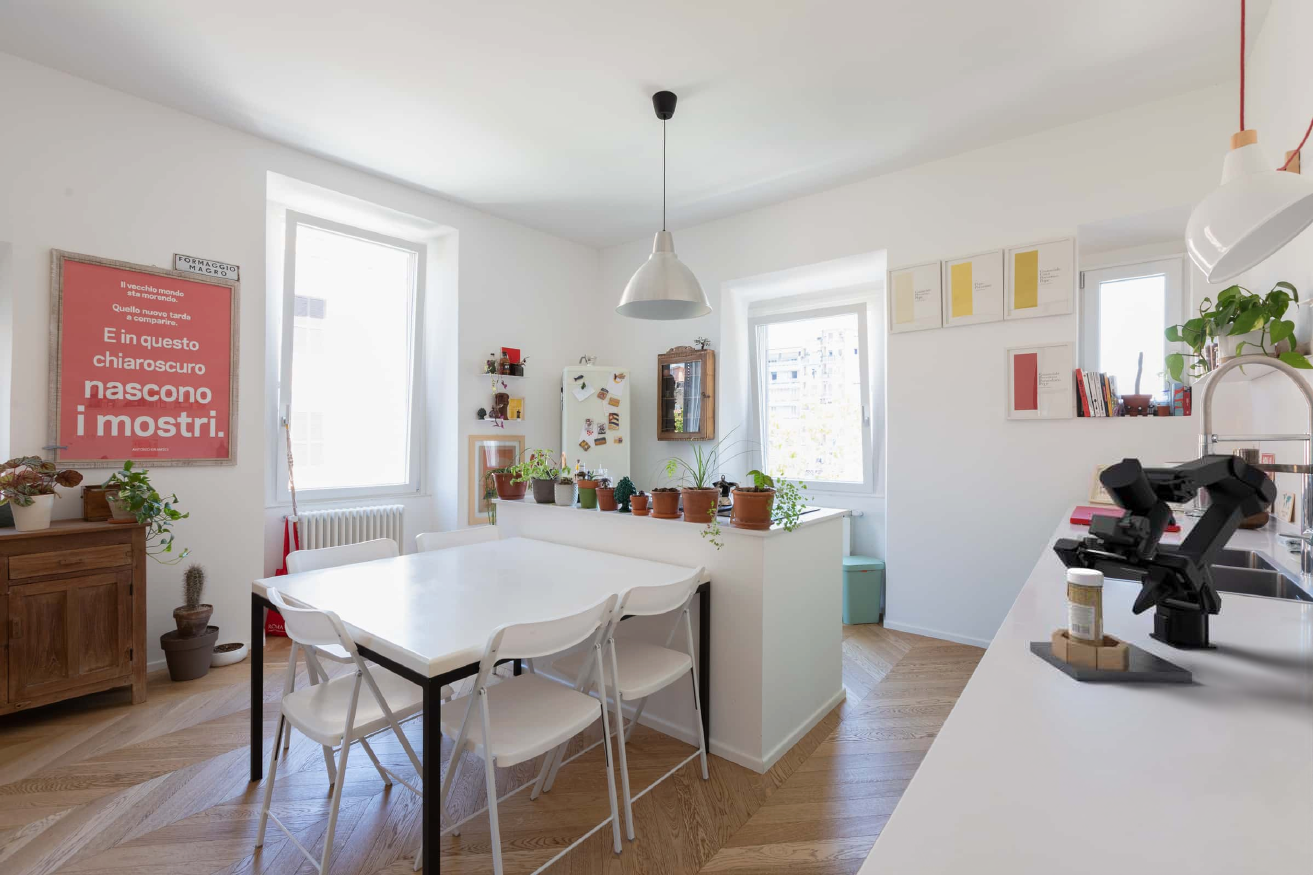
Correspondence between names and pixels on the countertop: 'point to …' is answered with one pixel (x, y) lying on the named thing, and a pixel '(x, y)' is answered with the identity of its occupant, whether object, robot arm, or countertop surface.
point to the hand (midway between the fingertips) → (1100, 604)
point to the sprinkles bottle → (1085, 606)
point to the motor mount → (1107, 661)
